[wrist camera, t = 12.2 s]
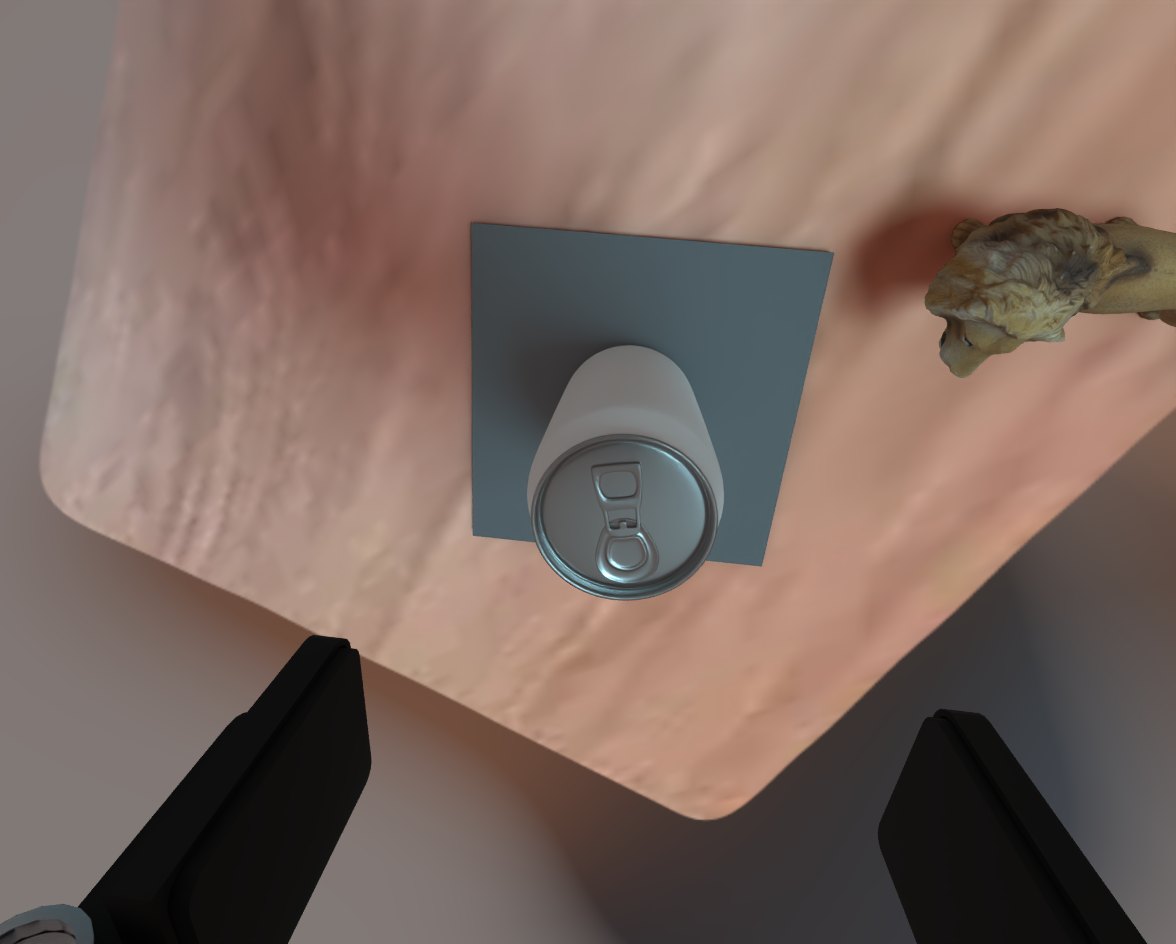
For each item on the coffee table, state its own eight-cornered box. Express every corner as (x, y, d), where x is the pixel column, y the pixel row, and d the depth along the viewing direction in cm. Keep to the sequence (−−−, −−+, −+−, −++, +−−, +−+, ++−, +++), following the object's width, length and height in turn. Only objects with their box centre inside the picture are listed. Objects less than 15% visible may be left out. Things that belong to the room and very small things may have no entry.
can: (573, 474, 29) (535, 618, 18) (554, 351, 27) (497, 431, 16) (698, 463, 29) (736, 606, 18) (690, 335, 26) (729, 408, 15)
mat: (474, 222, 26) (471, 222, 25) (829, 252, 25) (834, 252, 24) (475, 530, 32) (472, 535, 31) (759, 560, 31) (761, 566, 31)
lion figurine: (860, 347, 27) (962, 398, 18) (869, 225, 25) (988, 219, 16) (1208, 315, 25) (1495, 354, 17) (1248, 181, 23) (1596, 149, 15)
